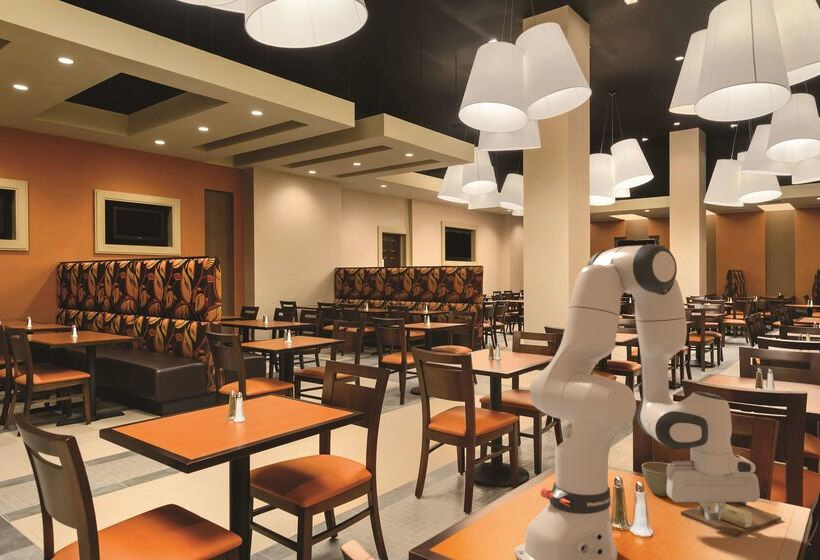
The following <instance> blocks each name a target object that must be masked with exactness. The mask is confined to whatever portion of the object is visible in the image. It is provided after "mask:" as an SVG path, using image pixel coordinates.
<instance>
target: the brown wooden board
mask: <svg viewBox="0 0 820 560" xmlns="http://www.w3.org/2000/svg"><path fill="white" fill-rule="evenodd" d="M726 504H728V505H731V506H733V507H736V508H739V509H742V510H745V511H747V512H750V513H751V514H752V526H750V527H747V528H744V527H741V526H739V525H736V524H733V523H731V522H728V521H726V520H723V519H721V520H707V519H706V518H705V513H703V512H701V511H700V505H698V506H695V507H691V508H689V509H685V510H681V511H680V516H683V517H686V518H688V519H691V520H693V521H696V522H698V523H700V524H703V525H704V526H707V527H710V528H713V529H715V530H718V531H720V532H723V533H725V534H728V535H730V536H731V537H739V536H741V535H745V534H747V533H750V532H753V531H756V530H758V529H760V528H765V527H767V526H769V525H772V524H775V523H778V522H780V521H779V520H781V521H782V517H781V516H779V515H776V514H773V513H770V512H769V511H765V510H762V509H759V508H756V507H753V506H751V505H748V504H746V505H745V506H741V505H738V504H735V503H732V502H729V503H726ZM777 521H778V522H777Z"/></svg>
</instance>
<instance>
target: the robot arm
mask: <svg viewBox="0 0 820 560" xmlns="http://www.w3.org/2000/svg"><path fill="white" fill-rule="evenodd" d="M675 258H676V257H675V256H674V255H673V254H672V251H671V250H670V249H668V248H667V247H665V246H664V245H660V244H651V243H647V244H645V245H624V246H619V247H614V248H611V249H604V250H601V251H598V252H596V253H595V254H593V255H592V256H591V257H590V258H589V260H588V261H587V263H586V266H584V267H583V268H581V270H580V271H579V273H578V274H577V277H576V279H575V281H574V282H575V283H574V285H573V289H572V292H571V296H570V299H569V305H568V309H567V310H568V311H567V315H566V316H567V317H566V320H565V326H564V331H563V334H562V335H563V336H562V339H561V342H560V344H559V346H558V349H557V351H556V353H555V355H554V356H553V357H552V360H551V361H550V362H549V363H548V364H547V366H546V367H545V368H544V369H542V370H541V371H539V372H538V373H537V374H535V376H534V377H533V378H532V380H531V383H530V386H529V398H530V400H531V403H532V405H533V406H534V408H536V409H537V410H540V412H543V414H546V415H548V416H549V417H552V418H555V419H558V420H559V419H560V420H563V421H567V422H571V426H572V428H571V429H572V430H571V432H570V436H569V438H567V439H565V440H564V441H562V442H561V443H560V444H558V445H557V446H556V448H555V452H554V461H555V462H554V469H555V470H554V472H555V481H554V483H553V487H552V489H548V488H547V487H542V488H541V490H540V492H539V493H540V496H541V497H543V498H546V500H549V502H548V503H547V504H546V506H545V507H543V509H542V510H541V511H540V512H539V513H538V514H537V516H535V517H534V518H533V519H532V521H530V522H529V523H528V525H527V526H526V527H527V528H526V531H525V538H524V542H523V543H521V544H519V545H517V546H515V547H514V550H513V551H515V553H514V555H516V556H517V557H516V556H515V557H516V559H517V558H518V559H519V560H618V559H617V558H618V550H617V548H616V544H615V539H614V534H613V527H612V522H611V515H610V507H611V499H612V497H611V489H610V487H609V485H608V484H609V483H608V482H609V479H608V477H609V473H608V471H609V470H608V469H609V453H610V450H611V445H612V443H613V441H614V440H615V438H616V437H617V436H618V434H619V433H620V432H621V431H623V430H625V429H626V428H627V427H628V426H629V425H631V423H632V421H633V420H634V418H635V415H636V420H637V424H638V426H639V428H640V429H641V430H642V432H643V433H645V434H646V435H647V436H650V437H651V438H654V439H655V441H657V442H659V443H660V444H661V445H663V446H664V447H666V448H668V449H671V450H686V449H690V450H689V451H690V455H689V456H690V460H682V461H681V460H680V461H679V460H674V461H672V462H671V463H668V464H669V465H668V466H667V477H668V479H667V489H666V492H667V495H668V496H667V497H669V498H670V500H672V501H673V502H674V503H699V506H700V505H701V506H702V508H703V509H704V511H705V518H706V519H707V520H721V513H722V511H723V510H724V508H725V506H726V503H725V502H746V503H756V502H758V500H759V499H760V496H761V495H760V484H759V480H758V475H756V474H755V473H754V472H756V465H755V463H754V462H752V461H750V460H749V459H747V458H745V457H743V456H741V455H739V454H735V453H733V448H732V444H731V437H732V434H733V427H732V425H733V423H732V416H731V414H732V413H731V408H730V405H729V403H728V401H727V400H726V399H725V398H724V397H722V396H721V395H718V394H715V393H711V392H706V391H699V390H698V391H693V392H692V393H691V394H690V395H689V396H687V397H686V398H685V399H682V400H681V401H678V402H676V403H674V402H673V401H672V399H671V397H670V388H669V387H670V384H669V382H670V381H669V364H670V361H671V359H672V358H673V357H674V355H677V353H679V352H680V351H682V349H683V348H684V346H685V345H686V341H687V334H688V333H687V332H688V328H687V327H688V325H687V316H686V310H685V303H684V300H683V295H682V292H681V288H680V286H679V282H678V280H677V279H676V277H677V272H678V271H677V267H678V266H677V261H676V259H675ZM624 293H626V294H631V296H632V297H633V299H634V315H635V316H634V317H635V318H634V319H635V326H636V333H637V339H638V345H639V352H640V371H641V375H640V376H641V399H640V401H639V405H638V408H637V401H636V398H635V395H634V392H633V390H632V389H631V388H630V386H629V385H627V384H624V383H622V382H620V381H618V380H615V379H613V378H610V377H606V376H600V375H594V374H592V372H593V370H594V368H595V367H596V365H597V364H598V362H600V361H601V360H602V359H604V358H606V357H608V356H610V355H611V354H612V353H613V352H614V349H615V347H616V341H617V340H616V339H617V334H618V329H619V328H618V326H619V322H620V321H619V320H620V315H621V313H620V312H621V307H622V306H621V305H622V297H623V295H624ZM636 412H637V413H636ZM709 502H715V503H717V505H716V507H715V509H714V510H709V509H708V507H707V506H710V505H709ZM518 559H517V560H518Z"/></svg>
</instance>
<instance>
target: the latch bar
mask: <svg viewBox="0 0 820 560" xmlns="http://www.w3.org/2000/svg"><path fill="white" fill-rule="evenodd" d="M709 505H710V506H707V507H708V509H709V510H714V509H715V507H716V505H717V503H715V502H709ZM699 506H700V511H701V512H703V513H705V511H704V509H703V508H702V506H701V505H700V504H699ZM721 519H723V520H726V521H728V522H731V523H733V524H736V525H739V526H741V527H744V528H747V527H750V526H752V514H751V513H750V512H747V511H745V510H742V509H739V508H736V507H733V506H731V505H728V504H726V506H725V508H724V510H723V511H722V513H721Z"/></svg>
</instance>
